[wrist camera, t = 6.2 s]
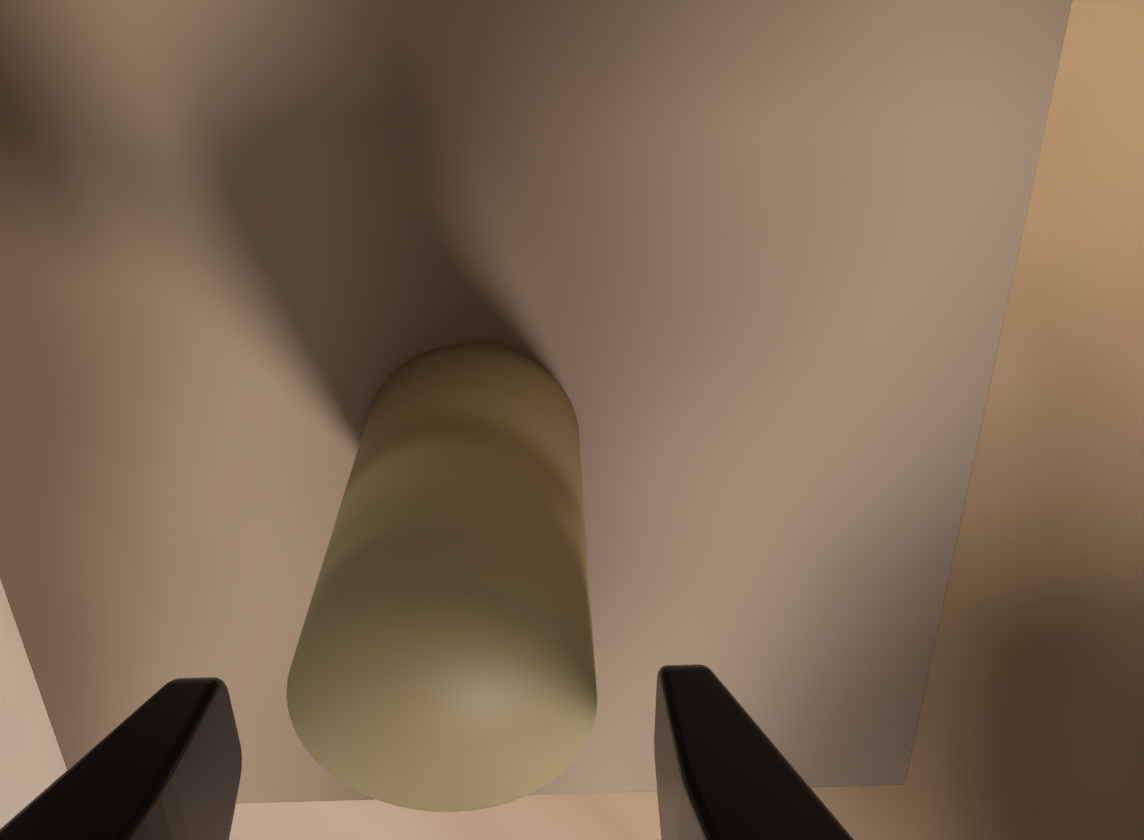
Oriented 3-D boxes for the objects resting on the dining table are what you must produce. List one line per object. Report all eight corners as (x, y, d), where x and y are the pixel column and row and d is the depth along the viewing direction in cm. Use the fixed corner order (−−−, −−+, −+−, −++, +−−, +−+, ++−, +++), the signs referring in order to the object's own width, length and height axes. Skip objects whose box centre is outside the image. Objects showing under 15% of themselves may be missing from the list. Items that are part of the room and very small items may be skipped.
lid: (109, 746, 16) (-78, 1133, 11) (-172, -141, 10) (-833, -146, 5) (881, 726, 17) (1028, 1094, 12) (1048, -152, 11) (1502, -167, 6)
